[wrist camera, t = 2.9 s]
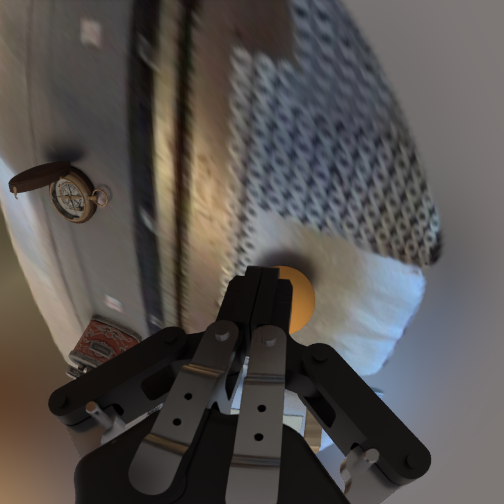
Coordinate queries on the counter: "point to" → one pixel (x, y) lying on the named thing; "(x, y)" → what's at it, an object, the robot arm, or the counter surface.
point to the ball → (299, 297)
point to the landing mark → (284, 420)
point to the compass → (61, 189)
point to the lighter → (100, 344)
